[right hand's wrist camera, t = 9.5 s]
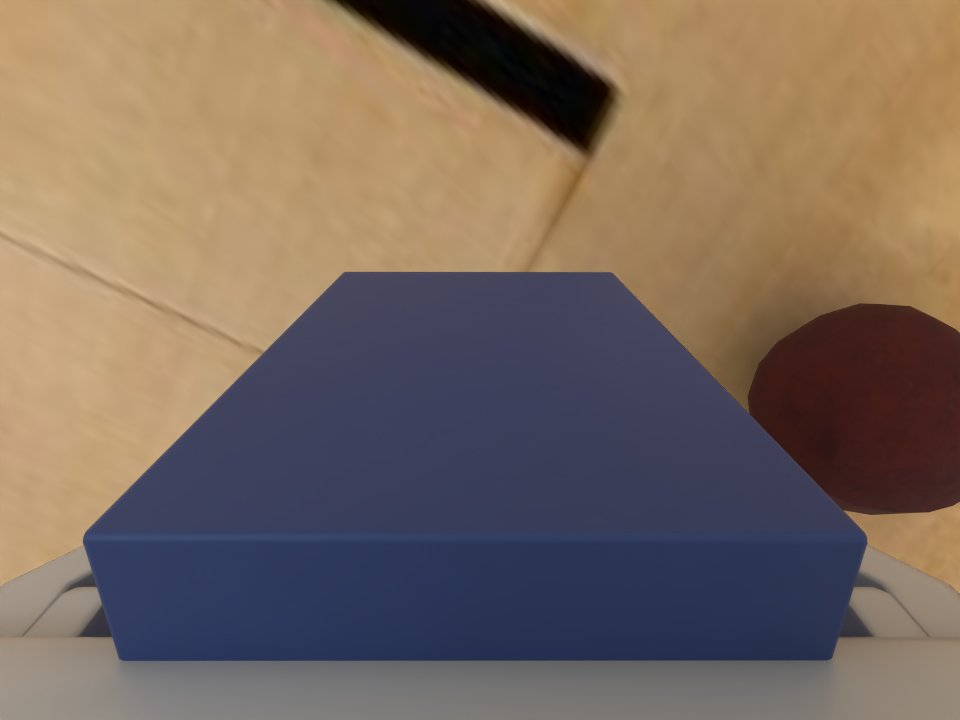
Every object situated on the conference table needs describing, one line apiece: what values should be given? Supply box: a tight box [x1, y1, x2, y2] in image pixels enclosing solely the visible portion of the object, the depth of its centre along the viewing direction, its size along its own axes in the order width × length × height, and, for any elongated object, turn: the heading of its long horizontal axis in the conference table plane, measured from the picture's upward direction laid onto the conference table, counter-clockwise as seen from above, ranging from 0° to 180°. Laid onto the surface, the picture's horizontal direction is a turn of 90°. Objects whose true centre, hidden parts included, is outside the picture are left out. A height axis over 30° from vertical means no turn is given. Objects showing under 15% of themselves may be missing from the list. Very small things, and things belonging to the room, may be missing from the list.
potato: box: [748, 304, 960, 515], centre depth 20 cm, size 7×8×7 cm
